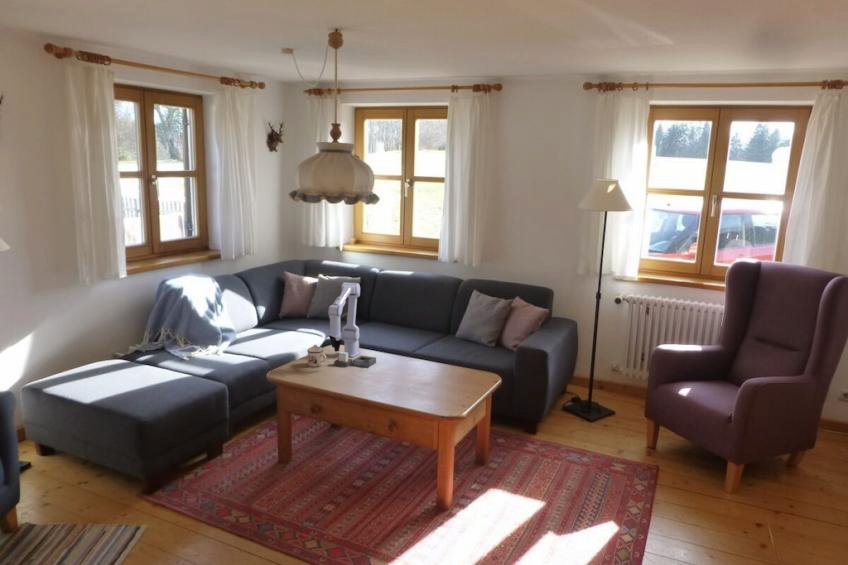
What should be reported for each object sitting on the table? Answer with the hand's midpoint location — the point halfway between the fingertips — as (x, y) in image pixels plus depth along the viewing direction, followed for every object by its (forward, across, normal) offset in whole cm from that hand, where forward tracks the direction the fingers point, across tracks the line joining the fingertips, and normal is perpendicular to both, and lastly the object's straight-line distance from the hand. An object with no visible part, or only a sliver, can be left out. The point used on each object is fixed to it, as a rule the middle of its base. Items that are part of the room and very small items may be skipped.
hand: (335, 349), depth 349 cm
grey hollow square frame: (+10, -2, +5) cm, 11 cm away
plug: (+10, -2, +5) cm, 11 cm away
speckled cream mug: (+10, -5, -10) cm, 15 cm away
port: (+10, 0, +17) cm, 20 cm away
